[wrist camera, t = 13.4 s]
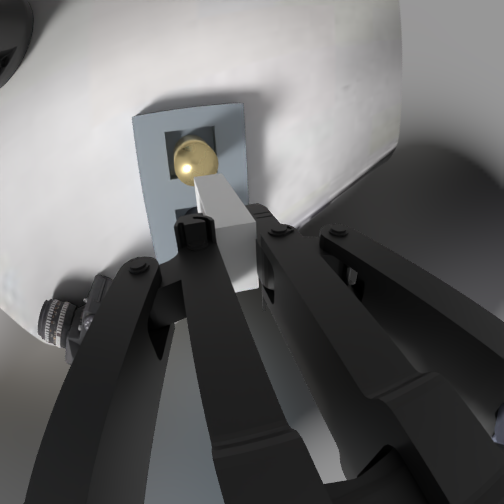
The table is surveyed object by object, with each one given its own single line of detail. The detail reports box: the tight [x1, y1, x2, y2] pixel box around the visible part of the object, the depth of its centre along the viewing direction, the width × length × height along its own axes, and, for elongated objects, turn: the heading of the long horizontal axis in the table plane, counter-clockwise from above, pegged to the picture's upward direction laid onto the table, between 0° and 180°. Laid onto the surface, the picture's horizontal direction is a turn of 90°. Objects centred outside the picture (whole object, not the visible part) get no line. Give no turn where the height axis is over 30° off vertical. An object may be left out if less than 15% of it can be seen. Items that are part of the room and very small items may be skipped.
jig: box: [132, 103, 249, 264], centre depth 32 cm, size 18×12×8 cm, turn 3°
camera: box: [38, 275, 113, 365], centre depth 35 cm, size 14×11×10 cm
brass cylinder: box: [173, 135, 219, 187], centre depth 29 cm, size 4×4×8 cm
